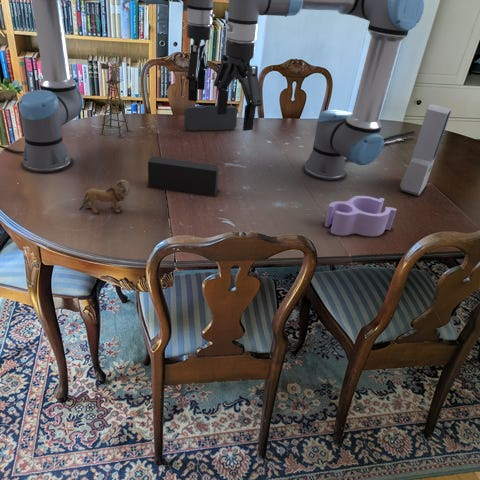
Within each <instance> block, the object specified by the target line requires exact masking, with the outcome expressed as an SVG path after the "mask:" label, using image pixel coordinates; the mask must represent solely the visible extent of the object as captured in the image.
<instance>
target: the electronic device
mask: <svg viewBox="0 0 480 480" xmlns="http://www.w3.org/2000/svg"><path fill="white" fill-rule="evenodd" d="M451 114H452V108H449V107H445V106H441V105H437V104H433V103H432V104H431V103H430V104H429V105H428V106H427V108H426V111H425V114H424V118H423V121H422V123H421V127H420V130H419V133H418V137H417V140H416V143H415V146H414V150H413V152H412V155H411V160H410V162H409V164H408V166H407V168H406V170H405V172H404V175H403V177H402V179H401V181H400V183H399V188H400V190H401V192H405V193H407V194H411V195H414V196H418V197H419V196H420V195H421V193H422V192H423V191H424V189H425V187H426V186H427V183H428V181H429V178H430V175H431V173H432V172H431V171H432V168H433V166H434V162H435V159H436V157H437V154H438V151H439V148H440V145H441V142H442V138H443V136H444V133H445V131H446V128H447V125H448V122H449V118H450V116H451Z"/></svg>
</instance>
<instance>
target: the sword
mask: <svg viewBox="0 0 480 480" xmlns="http://www.w3.org/2000/svg"><path fill="white" fill-rule="evenodd" d="M405 138H406V137H403V136H402V137H399V138H396V139H392V140H388V141H384V146H385V145H388V144H389V145H390V144H392V143H398V142H405V141H407V140H411V139H412V138H408V139H405ZM404 139H405V140H404Z"/></svg>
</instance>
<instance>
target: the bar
mask: <svg viewBox="0 0 480 480" xmlns="http://www.w3.org/2000/svg"><path fill="white" fill-rule="evenodd" d="M219 168H220V165H219V164H218V165H217V164H212V163H205V162H204V163H203V162H196V161H189V160H181V159H174V158H167V157H161V156H160V157H159V156H151V157H150V158H149V160H148V161H147V186H148V188H152V189H159V190H166V191H175V192H181V193H187V194H194V195H195V194H196V195H202V196H208V197H216V194H217V192H218V183H219V172H220V171H219Z"/></svg>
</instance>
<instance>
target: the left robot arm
mask: <svg viewBox="0 0 480 480" xmlns="http://www.w3.org/2000/svg"><path fill="white" fill-rule="evenodd" d="M138 1H140V2H143V3H144V4H147V5H158V4H160V3H162V2H165V1H166V0H138ZM181 1H182V2H183V1H184V2H187V10H186V11H187V13H186V22H187V23H188V24H187V25H186V37H187V38H188V39H190V40H193V42H192V44H190V54H189V60H188V61H189V62H188V70H187V75H186V77H185V79H186V80H188V92H187V93H188V96H187V97H188V98H187V100H188V101H190V102H191V101H192V102H198V93H199V92H198V90H201V91H205V89H206V72H207V71H206V70H208V69H209V66H208V61H207V60H208V58H207V53H208V52H207V41H209V40H211V39H212V34H213V33H212V32H213V27H212V24H213V18H214V17H215V13H213V10H214V0H181ZM31 5H32V12H33V19H34V25H35V32H36V38H37V44H38V50H39V51H38V52H39V58H40V62H41V63H40V64H41V69H42V79H41V80H40V82H39V89H37V90H36V89H35V90H33V91H28V92H25V93H24V94H22V95H21V96H20V98H19V100H18V105H19V106H18V111H19V114H20V119H21V125H22V132H23V137H24V148H23V150H14V149H12V148H9V147H8V146H7V147H6V146H4V145H2V144H1V145H0V148H1V149H4V150H6V151H8V152H11V153H15V154H22V158H21V159H22V160H21V161H22V166H23V168H24V169H25V170H27V171H29V172H33V173H39V174H46V173H56V172H61V171H63V170H66V169H67V168H69V167H70V166H71V163H72V159H71V155H70V153H69V151H68V150H67V149H68V148H67V147H66V145H65V143H64V140H63V132H62V127H63V126H64V125H66V124H67V123H69V122H70V121H72V120H74V119H76V118H77V117H78V116H79V115H80V114H81V113H82V111H83V108H84V96H83V94H82V93H81V90H79V89H78V87H77V82H76V81H75V80H74V79H73V78H72V76H71V71H70V63H69V55H68V47H67V39H66V38H67V37H66V31H65V30H66V29H65V22H64V16H63V15H64V14H63V7H62V0H31Z"/></svg>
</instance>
